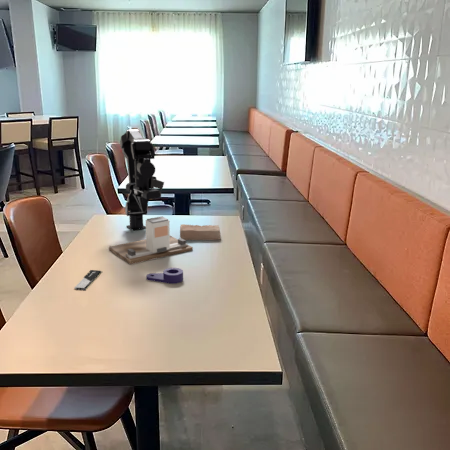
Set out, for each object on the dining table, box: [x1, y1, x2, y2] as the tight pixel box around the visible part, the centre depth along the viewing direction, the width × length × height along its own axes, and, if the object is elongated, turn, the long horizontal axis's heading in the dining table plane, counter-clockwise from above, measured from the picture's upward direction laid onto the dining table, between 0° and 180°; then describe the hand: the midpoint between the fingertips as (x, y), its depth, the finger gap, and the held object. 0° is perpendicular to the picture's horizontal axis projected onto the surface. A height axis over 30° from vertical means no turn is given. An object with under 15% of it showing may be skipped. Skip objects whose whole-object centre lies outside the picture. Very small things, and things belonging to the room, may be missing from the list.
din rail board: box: [108, 235, 194, 265], centre depth 178 cm, size 18×26×4 cm
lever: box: [146, 267, 184, 285], centre depth 153 cm, size 12×6×3 cm, turn 84°
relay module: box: [145, 216, 171, 253], centre depth 172 cm, size 6×7×12 cm
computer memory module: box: [73, 269, 103, 291], centre depth 151 cm, size 15×1×4 cm
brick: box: [179, 224, 221, 241], centre depth 195 cm, size 17×8×5 cm, turn 95°
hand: (143, 211), depth 185 cm, fingers closed
